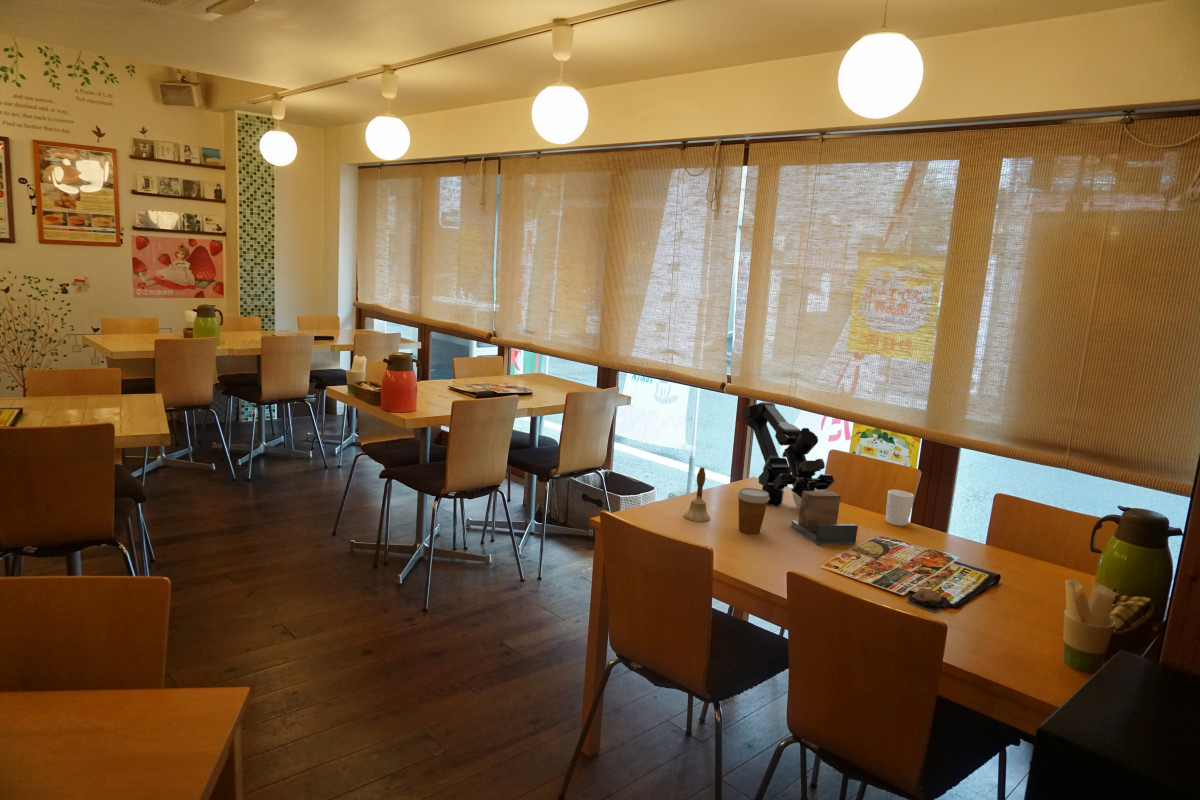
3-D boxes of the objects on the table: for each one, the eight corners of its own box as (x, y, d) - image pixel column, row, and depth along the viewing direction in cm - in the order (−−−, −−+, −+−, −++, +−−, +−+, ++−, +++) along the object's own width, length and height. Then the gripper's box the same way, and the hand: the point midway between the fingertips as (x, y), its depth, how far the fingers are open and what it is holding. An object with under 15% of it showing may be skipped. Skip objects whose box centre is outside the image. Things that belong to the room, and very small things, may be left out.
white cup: (912, 527, 246) (917, 497, 244) (888, 525, 246) (893, 495, 244) (903, 519, 253) (908, 490, 252) (880, 517, 254) (884, 488, 252)
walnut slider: (797, 525, 233) (802, 490, 232) (826, 525, 236) (831, 491, 234) (806, 531, 229) (811, 495, 227) (835, 530, 231) (840, 496, 230)
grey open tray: (791, 527, 235) (793, 509, 234) (827, 527, 238) (829, 509, 237) (817, 544, 220) (820, 525, 219) (855, 544, 224) (857, 525, 223)
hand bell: (712, 522, 233) (718, 472, 230) (685, 521, 232) (691, 470, 230) (707, 514, 241) (712, 465, 238) (681, 512, 240) (686, 463, 238)
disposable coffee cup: (730, 532, 225) (735, 493, 223) (736, 523, 234) (740, 485, 232) (763, 538, 222) (767, 498, 220) (767, 529, 231) (772, 491, 229)
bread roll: (936, 617, 179) (938, 602, 178) (901, 603, 185) (903, 589, 184) (954, 606, 186) (957, 591, 185) (920, 593, 192) (923, 579, 191)
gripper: (782, 448, 236) (796, 493, 227) (835, 449, 241) (850, 493, 232) (767, 466, 244) (780, 510, 235) (818, 467, 249) (833, 510, 241)
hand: (811, 505), depth 236 cm, fingers closed
